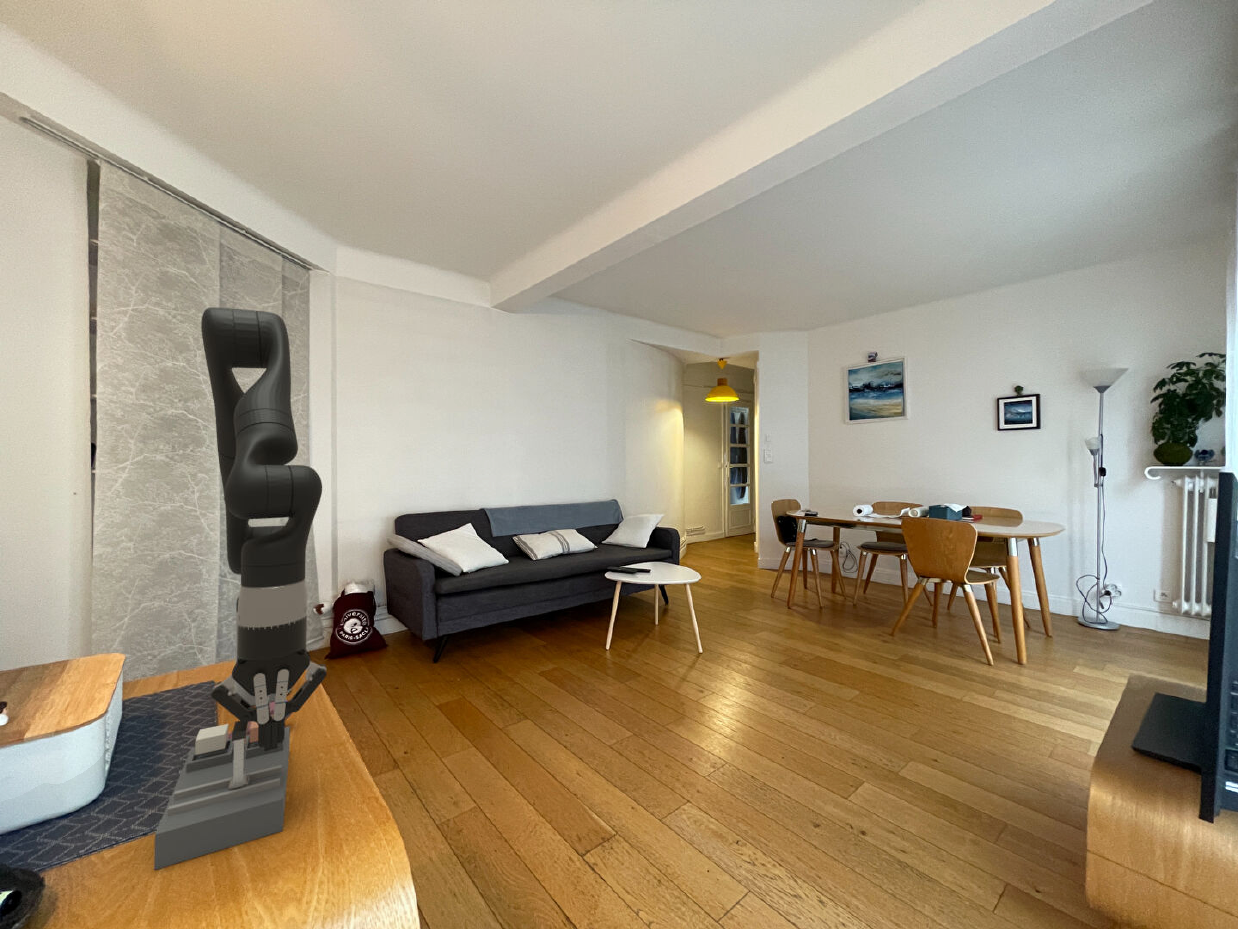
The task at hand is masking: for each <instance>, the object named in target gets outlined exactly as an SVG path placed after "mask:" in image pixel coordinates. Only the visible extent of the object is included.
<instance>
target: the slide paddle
mask: <svg viewBox="0 0 1238 929" xmlns="http://www.w3.org/2000/svg"><path fill="white" fill-rule="evenodd" d="M248 727H249V722H247V723H243V722H241V721H240V720H238V721H235V723H234V726H233V729H232V731H233V732H232V731H231V732H232V741H234V767H233V778H232V779H231V780H230V784H229V791H231V790H235V789H238V788H242V787H246V786H249V784H250V774H248V775H245V774H246V735H247V731H248Z"/></svg>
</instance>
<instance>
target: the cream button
mask: <svg viewBox="0 0 1238 929" xmlns="http://www.w3.org/2000/svg"><path fill="white" fill-rule="evenodd" d="M228 734H229V723H226V724H225V723H224V724H221V725H217V726H211V727H207V728H201V729H199V731H198V733H197V735H196V739H195V744H194V745H195V746H194V747H195V755H198V754H202V753H207V752H211V751H216V750H220V749H225V746H226V743H227V740H228Z"/></svg>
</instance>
